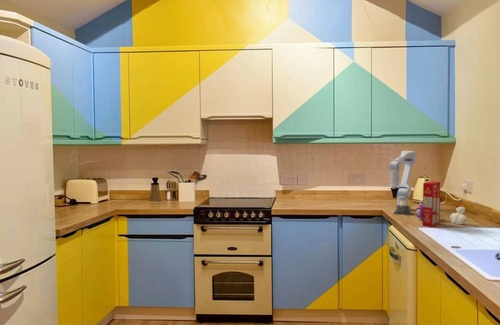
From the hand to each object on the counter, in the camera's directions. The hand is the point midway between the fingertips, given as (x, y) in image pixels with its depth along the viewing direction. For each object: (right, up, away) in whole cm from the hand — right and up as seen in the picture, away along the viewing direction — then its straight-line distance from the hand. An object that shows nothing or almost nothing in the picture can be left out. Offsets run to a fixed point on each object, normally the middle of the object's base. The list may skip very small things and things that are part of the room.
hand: (394, 198), depth 303 cm
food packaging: (+7, -12, -44) cm, 47 cm away
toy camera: (+11, -12, -29) cm, 33 cm away
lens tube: (+4, -10, -4) cm, 12 cm away
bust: (+25, -12, -42) cm, 50 cm away
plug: (+4, -7, -4) cm, 10 cm away
